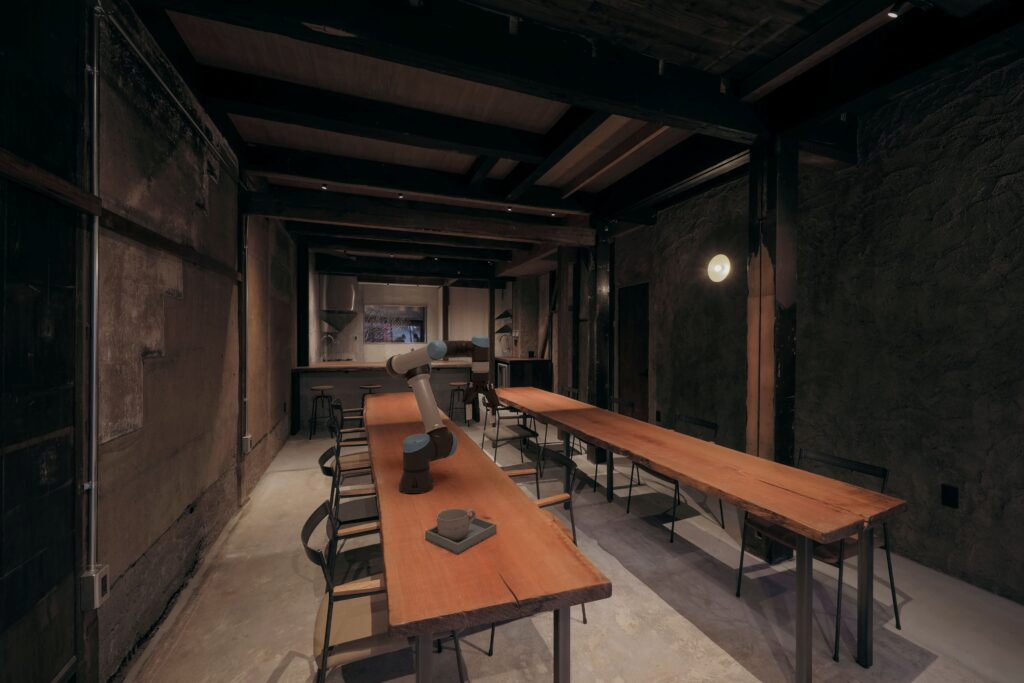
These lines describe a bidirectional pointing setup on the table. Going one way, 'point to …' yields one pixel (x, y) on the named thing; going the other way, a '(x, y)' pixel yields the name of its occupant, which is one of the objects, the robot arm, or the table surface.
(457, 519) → the teacup
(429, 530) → the tray
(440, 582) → the table surface
